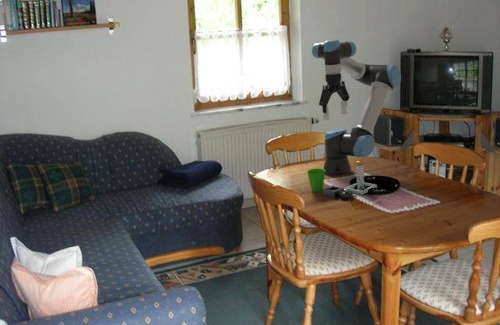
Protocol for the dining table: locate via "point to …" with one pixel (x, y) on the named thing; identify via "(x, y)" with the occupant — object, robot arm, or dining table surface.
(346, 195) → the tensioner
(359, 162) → the pin
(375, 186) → the tray
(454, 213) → the dining table surface
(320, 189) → the cup
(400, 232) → the dining table surface
